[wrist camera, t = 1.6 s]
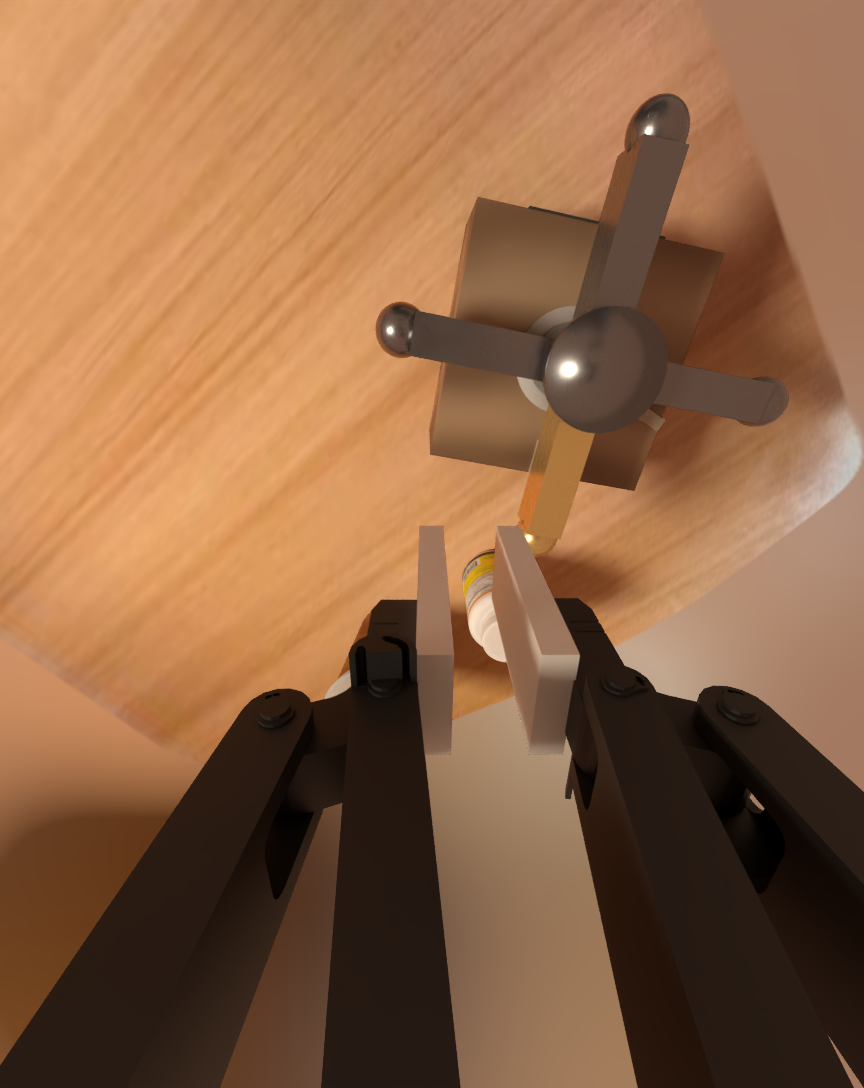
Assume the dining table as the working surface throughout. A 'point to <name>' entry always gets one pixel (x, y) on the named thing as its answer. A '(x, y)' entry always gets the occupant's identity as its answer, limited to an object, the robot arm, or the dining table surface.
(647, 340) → the capstan
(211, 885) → the robot arm
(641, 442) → the stand
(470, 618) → the supplement bottle
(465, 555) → the dining table surface
